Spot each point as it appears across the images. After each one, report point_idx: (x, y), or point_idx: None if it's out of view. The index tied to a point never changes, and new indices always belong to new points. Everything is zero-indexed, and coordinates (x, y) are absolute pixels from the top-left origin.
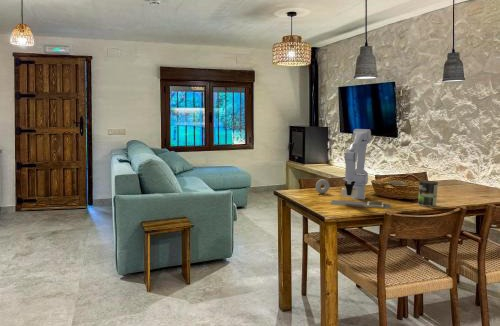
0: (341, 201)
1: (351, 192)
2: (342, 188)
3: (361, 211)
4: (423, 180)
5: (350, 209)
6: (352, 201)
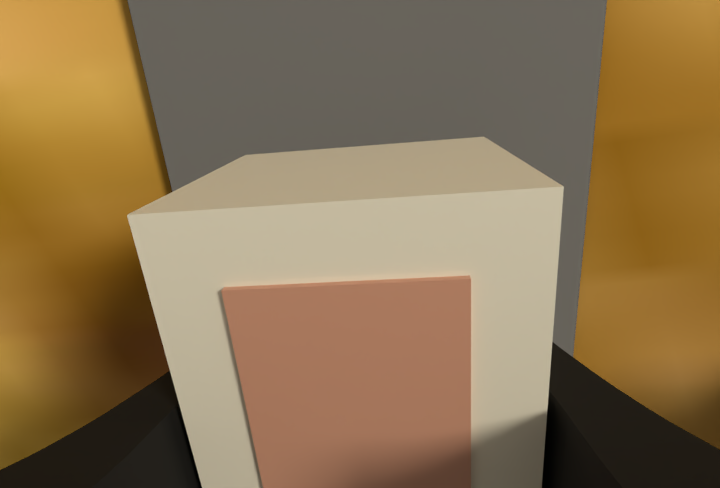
0: (499, 105)
1: None
2: (326, 230)
3: (8, 444)
4: None
5: (21, 320)
6: (565, 300)
